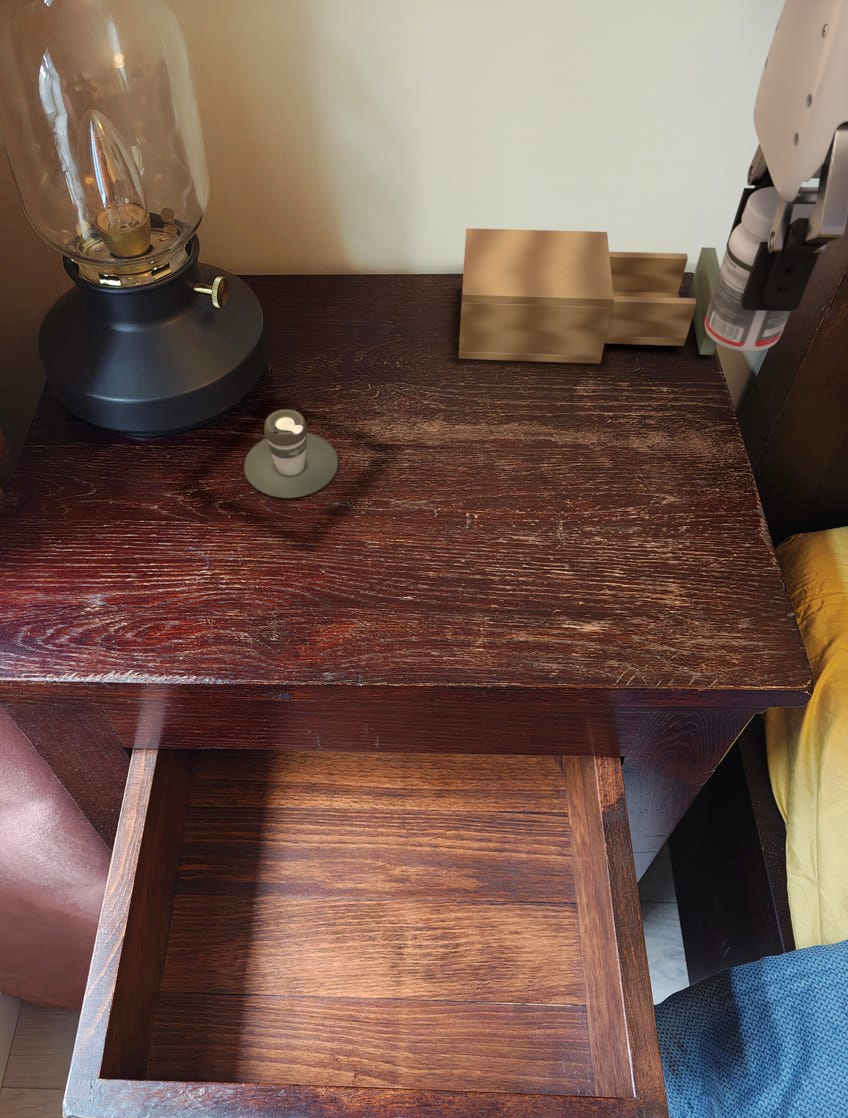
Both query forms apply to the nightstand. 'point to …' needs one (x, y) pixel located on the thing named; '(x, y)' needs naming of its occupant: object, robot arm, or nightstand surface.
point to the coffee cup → (290, 458)
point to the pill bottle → (725, 307)
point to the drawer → (660, 299)
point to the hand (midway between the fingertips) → (760, 276)
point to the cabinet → (535, 295)
